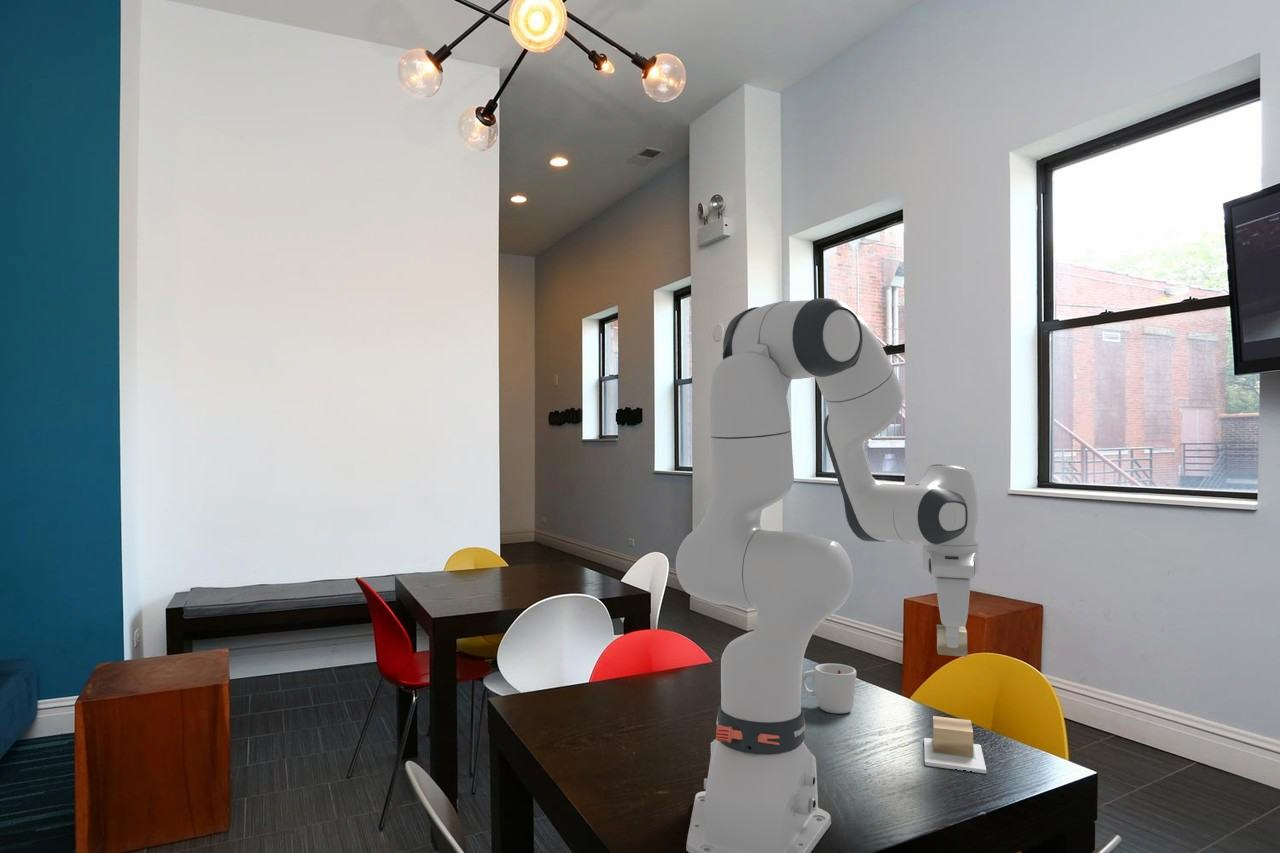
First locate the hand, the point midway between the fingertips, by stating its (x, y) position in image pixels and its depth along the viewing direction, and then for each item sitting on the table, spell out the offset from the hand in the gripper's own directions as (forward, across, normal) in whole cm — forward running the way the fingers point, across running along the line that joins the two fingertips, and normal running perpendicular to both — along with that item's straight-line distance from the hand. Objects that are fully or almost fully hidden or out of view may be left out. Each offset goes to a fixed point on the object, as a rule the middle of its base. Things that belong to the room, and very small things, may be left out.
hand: (951, 642), depth 126 cm
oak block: (+18, 0, 0) cm, 18 cm away
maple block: (+2, 0, 0) cm, 2 cm away
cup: (+18, -15, -22) cm, 32 cm away
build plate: (+18, +2, 0) cm, 18 cm away
